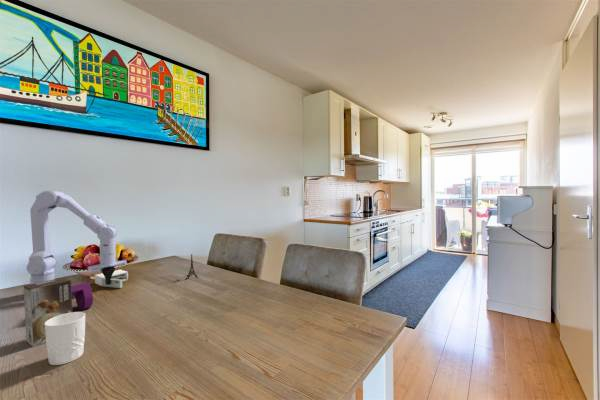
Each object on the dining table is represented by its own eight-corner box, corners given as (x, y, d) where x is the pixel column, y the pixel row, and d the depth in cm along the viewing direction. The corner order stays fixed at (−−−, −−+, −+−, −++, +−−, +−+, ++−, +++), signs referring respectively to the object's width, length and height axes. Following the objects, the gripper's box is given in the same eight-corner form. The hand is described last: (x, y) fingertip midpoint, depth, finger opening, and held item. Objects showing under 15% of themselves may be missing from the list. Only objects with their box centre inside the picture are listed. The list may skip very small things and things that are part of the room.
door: (103, 285, 124) (103, 277, 124) (122, 287, 121) (122, 279, 121) (101, 286, 123) (101, 278, 123) (119, 288, 120) (119, 280, 120)
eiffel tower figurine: (193, 273, 144) (193, 248, 144) (209, 275, 141) (209, 249, 141) (172, 282, 130) (171, 254, 130) (189, 284, 127) (188, 255, 127)
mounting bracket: (44, 326, 99) (61, 314, 90) (40, 303, 100) (56, 290, 92) (76, 315, 107) (94, 304, 98) (71, 295, 108) (89, 282, 100)
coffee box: (65, 327, 85) (64, 276, 84) (74, 333, 81) (72, 279, 81) (24, 341, 77) (23, 285, 77) (32, 347, 73) (30, 289, 73)
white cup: (62, 349, 72) (61, 312, 72) (93, 347, 73) (92, 311, 73) (36, 368, 65) (35, 326, 64) (71, 366, 65) (70, 325, 65)
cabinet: (94, 283, 128) (94, 274, 128) (120, 277, 137) (120, 269, 137) (102, 286, 124) (102, 277, 124) (128, 279, 133) (128, 271, 133)
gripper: (92, 257, 113) (92, 290, 113) (129, 251, 125) (130, 281, 125) (85, 256, 117) (86, 287, 117) (122, 250, 129) (123, 278, 129)
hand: (108, 284), depth 121 cm, fingers closed, pressing on door
